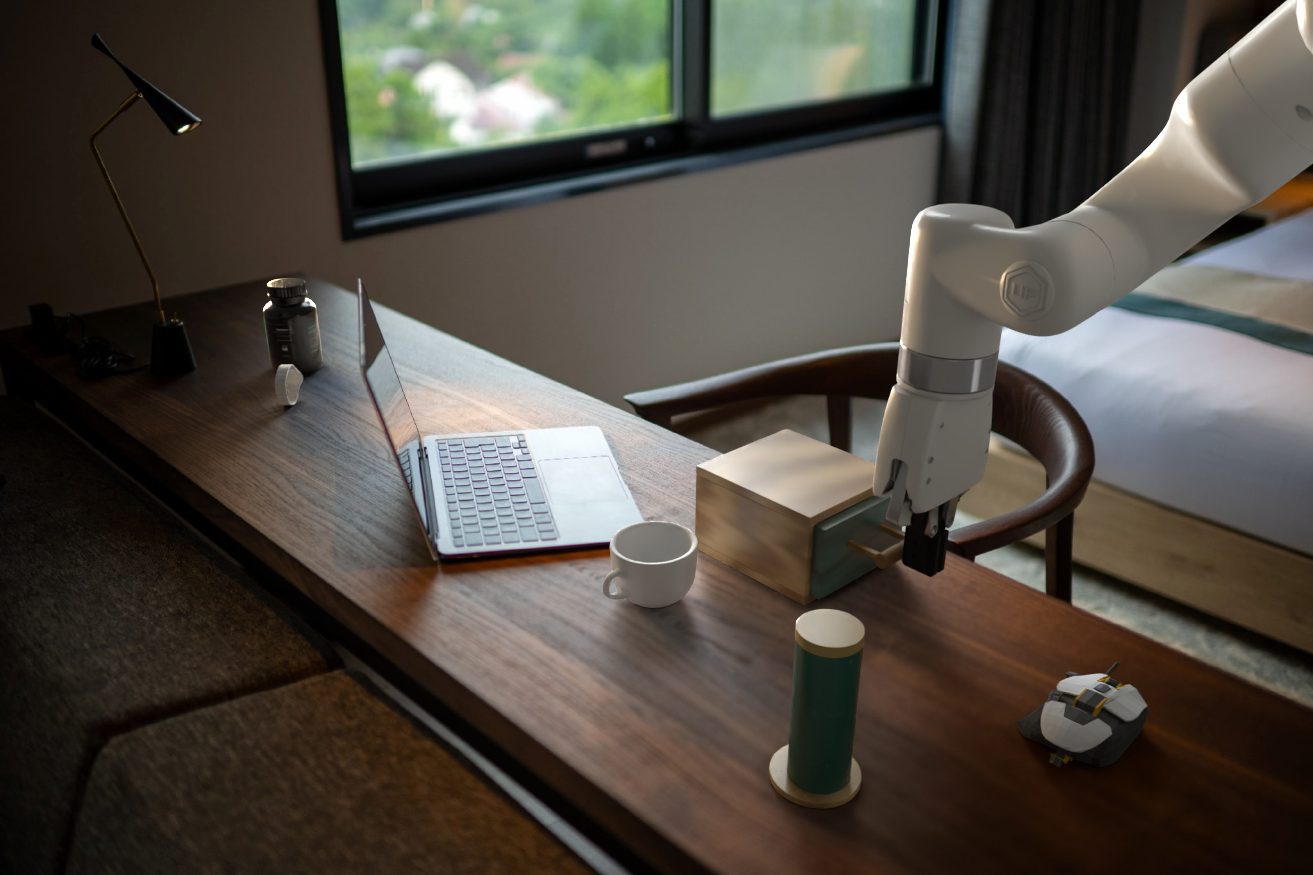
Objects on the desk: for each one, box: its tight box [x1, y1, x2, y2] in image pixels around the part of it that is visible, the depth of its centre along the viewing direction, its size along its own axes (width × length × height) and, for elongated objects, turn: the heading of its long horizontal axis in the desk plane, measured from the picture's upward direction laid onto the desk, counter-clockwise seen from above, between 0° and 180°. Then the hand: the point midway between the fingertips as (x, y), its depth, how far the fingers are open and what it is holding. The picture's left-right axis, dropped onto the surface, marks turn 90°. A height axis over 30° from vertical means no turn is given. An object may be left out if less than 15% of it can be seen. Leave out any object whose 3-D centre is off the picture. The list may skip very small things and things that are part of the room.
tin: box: [787, 608, 866, 794], centre depth 74 cm, size 4×4×12 cm
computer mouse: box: [1015, 661, 1151, 769], centre depth 81 cm, size 7×15×4 cm, turn 137°
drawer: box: [809, 494, 905, 600], centre depth 101 cm, size 17×12×7 cm
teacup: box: [602, 520, 699, 609], centre depth 96 cm, size 10×8×5 cm
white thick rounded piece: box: [274, 364, 304, 406], centre depth 137 cm, size 3×5×5 cm, turn 0°
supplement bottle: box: [262, 277, 324, 376], centre depth 147 cm, size 7×7×12 cm
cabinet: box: [694, 428, 875, 606], centre depth 103 cm, size 14×13×9 cm
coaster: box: [768, 744, 863, 810], centre depth 77 cm, size 6×6×1 cm
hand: (922, 567), depth 94 cm, fingers closed
